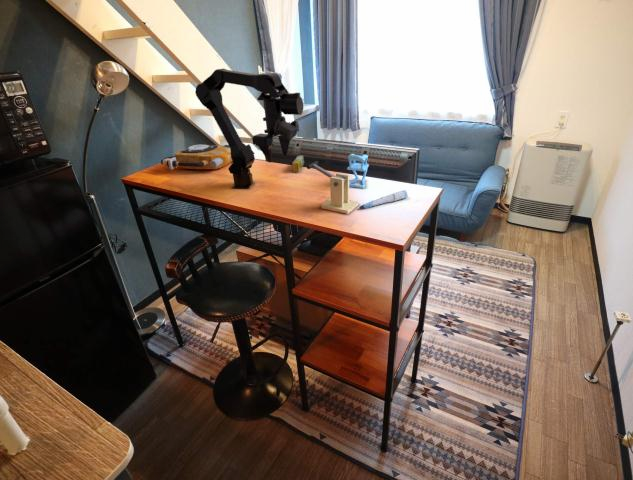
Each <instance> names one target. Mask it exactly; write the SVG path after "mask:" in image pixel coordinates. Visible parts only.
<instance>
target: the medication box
mask: <svg viewBox="0 0 633 480" xmlns="http://www.w3.org/2000/svg"><path fill="white" fill-rule="evenodd" d="M304 165H305V158H304V155H302V154H301V155H297V156H296V158H295V159H294V160H293V162H291V167H292V170H293V173H298V172H301V170H302V168H303V167H304Z"/></svg>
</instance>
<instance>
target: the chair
mask: <svg viewBox="0 0 633 480" xmlns="http://www.w3.org/2000/svg"><path fill="white" fill-rule="evenodd" d="M368 158H369V155H367V154H363V155H359V154H355V153H350V154H349V155H348V157H347V160H348V163H349V165H348V166H347V168H346V170H347V171H352V172H353V173H352V174H354V177H355V178H353V179H351V180H349V188H358V189H365V188H366V175H367V172H368V170H369V169H368V168H369V167H370V164H369V163H368ZM357 171H358V172H363V175H362V178H361V184H355V183H356V182H358V181H359V180H360V179H359V178H360V177H359V176H358V173H357Z"/></svg>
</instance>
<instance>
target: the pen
mask: <svg viewBox="0 0 633 480" xmlns="http://www.w3.org/2000/svg"><path fill="white" fill-rule="evenodd" d="M408 197H409V195H408V190H406V189H405V190H400V191H397V192H393V193H390V194H388V195H385V196H381V197H380V198H377V199H374V200H370V201H368V202H365V203H364V204H362V205H360V206H359V207H358V208H359V209H366V208H371V207H375V206H379V205H382V204H385V203H393V202H397V201H400V200H403V199H406V198H408Z"/></svg>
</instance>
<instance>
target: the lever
mask: <svg viewBox="0 0 633 480" xmlns="http://www.w3.org/2000/svg"><path fill="white" fill-rule="evenodd" d="M312 168H313V169H314V170H315V171H317V172H320V173H321V174H322V175H324V176H326V177H327V178H329V179H330V177H336V175H334V174H333V173H331V172H329V171H327V170H326V169H324V168H323V167H320V166H319V161H318V160H316V161H314V162H312V163H310V164H308V165H307V166H306V170H310V169H312ZM337 178H343V177H341V176H340V175H339V176H337ZM343 179H344V183H345V181H346V179H345V178H343Z"/></svg>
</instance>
